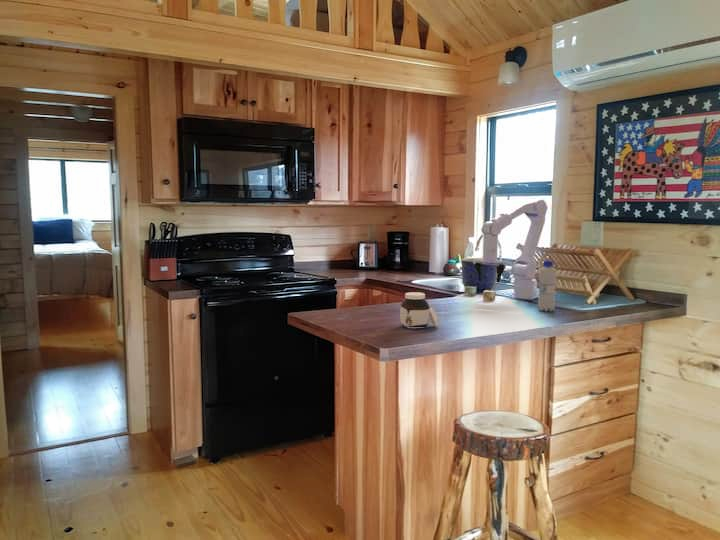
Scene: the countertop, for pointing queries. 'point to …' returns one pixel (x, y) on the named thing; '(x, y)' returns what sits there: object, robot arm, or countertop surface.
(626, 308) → the countertop surface
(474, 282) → the planter
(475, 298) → the white rectangular panel
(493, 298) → the maple cube
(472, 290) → the sage base cube
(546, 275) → the bottle
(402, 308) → the spread jar
